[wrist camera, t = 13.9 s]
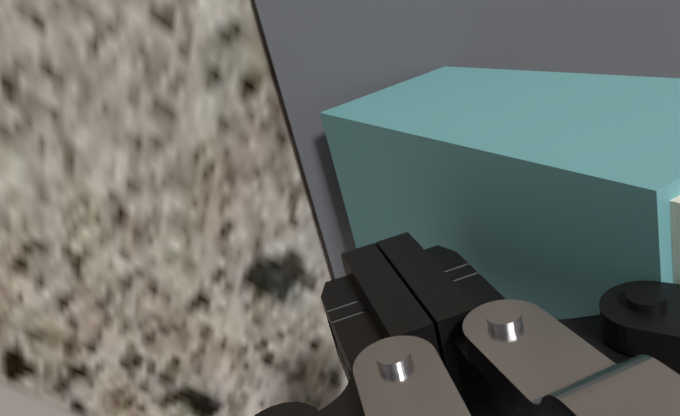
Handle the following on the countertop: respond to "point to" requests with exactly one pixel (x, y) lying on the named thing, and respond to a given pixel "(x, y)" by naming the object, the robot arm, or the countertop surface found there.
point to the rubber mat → (441, 59)
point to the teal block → (520, 177)
